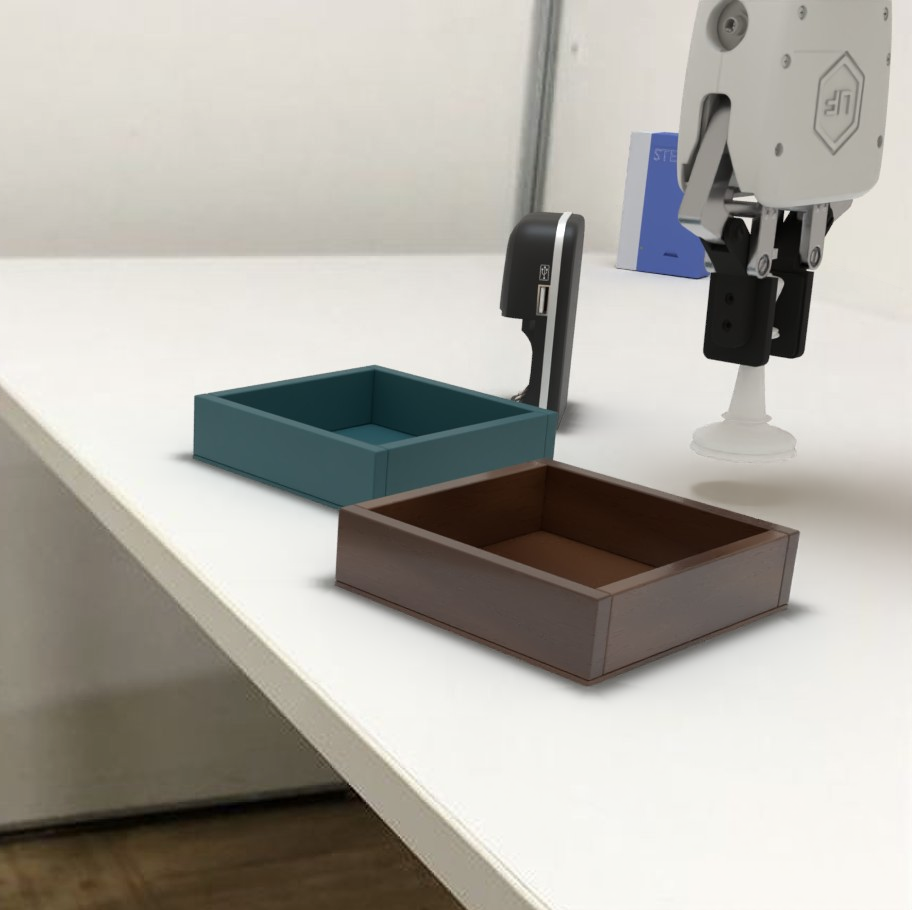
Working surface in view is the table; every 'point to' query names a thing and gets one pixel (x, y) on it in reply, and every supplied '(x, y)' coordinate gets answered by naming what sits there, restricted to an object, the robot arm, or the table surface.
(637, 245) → the walkman
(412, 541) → the walnut tray
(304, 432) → the teal tray
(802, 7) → the robot arm
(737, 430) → the chess piece
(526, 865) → the table surface
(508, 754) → the table surface
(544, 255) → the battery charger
